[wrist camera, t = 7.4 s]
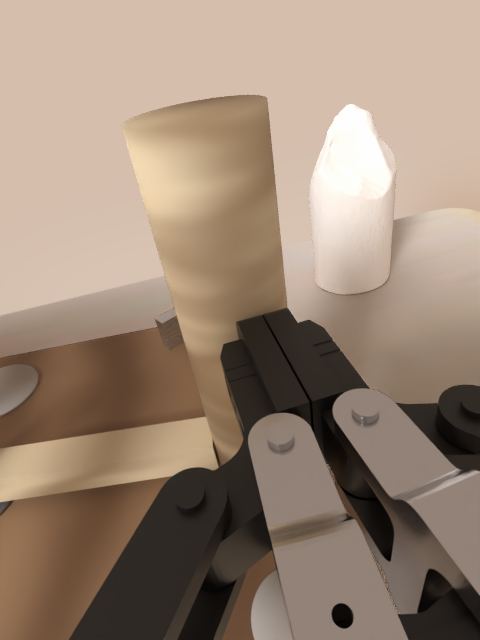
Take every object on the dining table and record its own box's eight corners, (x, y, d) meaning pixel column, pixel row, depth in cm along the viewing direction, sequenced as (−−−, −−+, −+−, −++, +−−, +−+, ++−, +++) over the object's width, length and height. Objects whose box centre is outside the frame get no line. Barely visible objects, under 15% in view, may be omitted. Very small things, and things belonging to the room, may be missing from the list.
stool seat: (-260, 839, 12) (-332, 833, 11) (-12, 385, 27) (-30, 361, 26) (378, 702, 12) (382, 680, 11) (265, 330, 28) (261, 304, 26)
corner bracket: (203, 376, 22) (195, 348, 21) (163, 344, 25) (154, 318, 24) (262, 336, 24) (258, 309, 23) (219, 311, 27) (213, 285, 26)
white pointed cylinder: (342, 121, 22) (286, 113, 26) (343, 304, 29) (298, 274, 33) (424, 97, 24) (359, 93, 28) (406, 275, 31) (356, 250, 35)
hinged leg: (-80, 538, 16) (-446, 236, 9) (-38, 462, 19) (-285, 186, 12) (308, 480, 16) (277, 109, 8) (292, 411, 19) (258, 89, 11)
